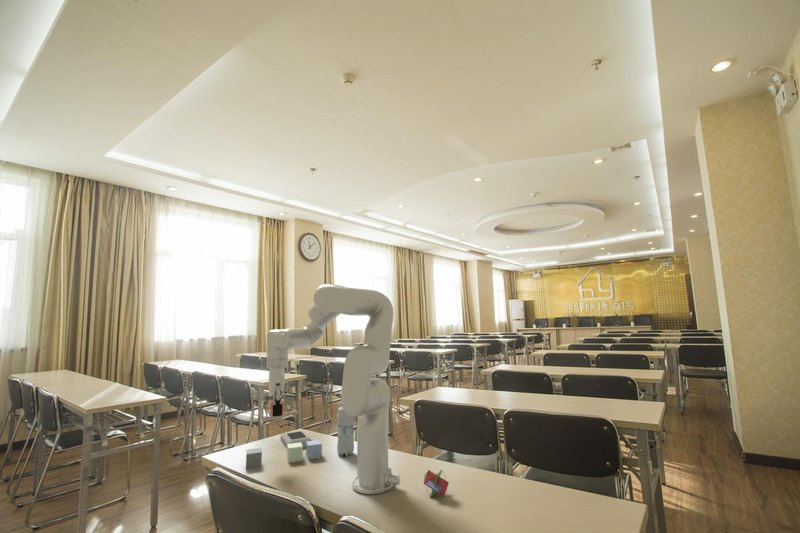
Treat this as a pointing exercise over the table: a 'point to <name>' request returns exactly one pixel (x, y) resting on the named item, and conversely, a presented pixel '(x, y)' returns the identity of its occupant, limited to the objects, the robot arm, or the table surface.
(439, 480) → the geometric puzzle
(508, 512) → the table surface
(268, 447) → the table surface
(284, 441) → the gray dark-screened device
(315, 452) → the slate-blue block
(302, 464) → the table surface
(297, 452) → the sage-green block
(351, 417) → the bottle
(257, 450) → the gray block
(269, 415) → the terracotta block
